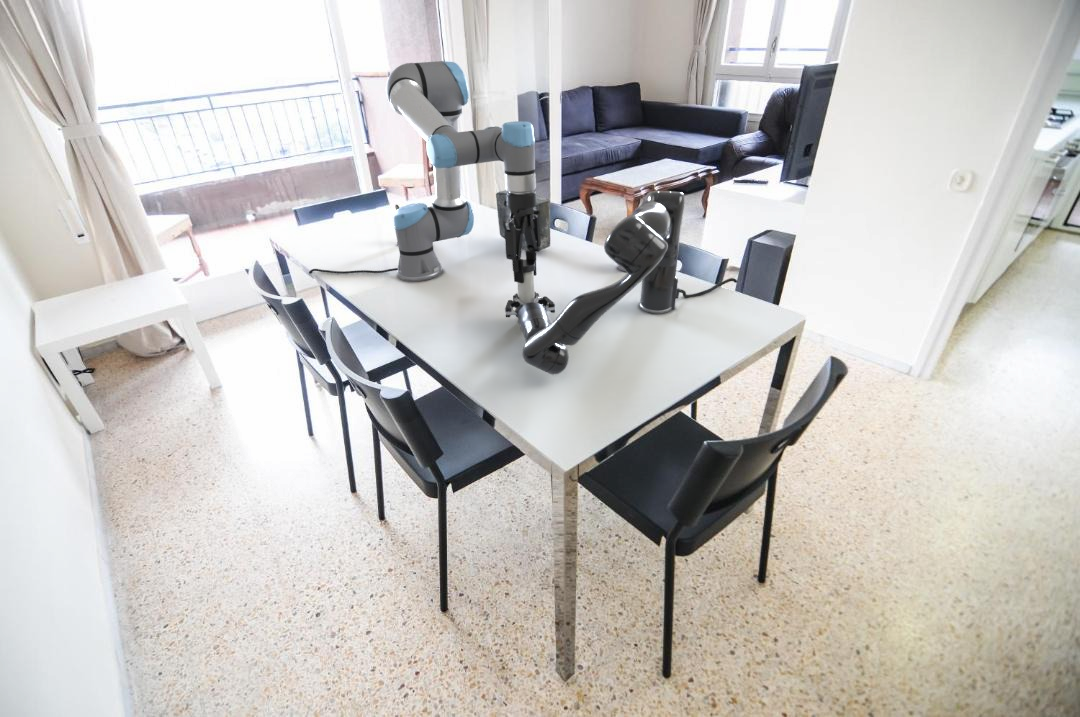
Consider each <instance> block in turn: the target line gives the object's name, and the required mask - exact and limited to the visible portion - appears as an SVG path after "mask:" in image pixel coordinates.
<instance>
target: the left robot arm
mask: <svg viewBox="0 0 1080 717" xmlns="http://www.w3.org/2000/svg"><path fill="white" fill-rule="evenodd" d="M385 94H386V95H385V96H386V99H387V101H388V104H389V105H390V107H391V108H392V109H393V110H394V111H395V112H396V113H397V114H398V115H400V116H403V117H405V119H406V120H407V121H408V123H410V125H411V126H412V127H413V128H414V130H416V132H417V133H418V134H419V136H421V138H422V139H423V140H424V141H425V143H426V144H425V145H426V155H427V158H428V159H429V162H430V164H431V165H432V167H433V177H434V178H433V179H434V187H435V195H434V196H433V197H432V198H431V206H428V205H427V204H425V203H424V202H423V203H422V202H417V203H410V204H406V205H403V206H401V207H399V209H398V210H396V209H395V211H394V213H393V215H392V219H393V228H394V230H395V231H394V232H395V236H396V243H397V242H398V245H397V247H398V251H399V259H398V265H397V267H395V268H387V269H381V270H371V269H370V270H366V269H364V270H363V269H360V270H358V269H357V270H346V271H343V270H341V271H340V270H330V269H320V268H312V269H310V270H309V271H308V274H312V273H313V272H318V273H319V272H320V273H329V274H337V275H339V274H341V275H344V274H345V275H346V274H358V273H359V274H361V273H362V274H363V273H364V274H383V273H384V274H385V273H389V272H394V271H397V276H398V278H399V279H400V280H402V281H406V282H413V283H414V282H425V281H429V280H432V279H435V278H438V277H439V276H440V275H441V274H442V273H443V268H442V264H441V263H440V260H439V259H438V256H437V254H436V252H435V250H434V243H435V242H440V241H441V242H442V241H446V240H450V239H455V238H461V237H463V236H466V235H469V234H470V233H471V232H472V230H473V227H474V221H475V216H474V212H473V207H472V204H471V203H470V202H469V201H468V200H467V197H466V196H464V195H463V192H462V177H461V167H462V166H467V165H468V166H469V165H475V164H476V165H477V164H483V163H490V162H491V163H492V162H502V163H503V168H504V182H505V190H507V191H508V192H507V193H506V201H507V207H508V208H509V209H510V210H511V213H510V219H509V220H508V221H504V222H503V226H504V229H505V238H504V240H505V257H506V260H511V262H512V271H513V281H514V283H517V284H518V283H524V272H523V260H524V259H523V258H522V250H523V248H522V240H523V234H524V235H525V240H526V244H527V248H528V250H526V251H525V259H527V260H533V261H534V262H535V270H534V277H535V276H537V253H539V252H540V251H539V250H540V248H538V247H540V246H541V237H540V210H534V209H533V208H534V207H535V206H536V195H537V192H536V189H537V178H536V176H537V175H536V150H535V149H536V148H535V145H536V144H535V143H536V139H535V136H534V135H535V134H534V133H535V132H534V126H533V124H532V123H531V122H530V121H522V120H519V121H517V120H516V121H507V122H504V123H503V124H502V125H501V127H500V126H497V125H496V126H487V127H485V128H484V129H476V130H465V131H459V122H458V121H459V120H458V119H459V118H460V117H461V115H462V114H463V106H466V105H467V104H468V102H469V99H470V98H469V96H470V95H469V85H468V82H467V78H466V75H465V73H464V71H463V69H462V68H461V66H460V65H459V64H458V63H456V61H455V62H454V61H445V60H439V61H423V62H406V63H403V64H401V65H398V66H397V67H396V68H395V69H394V70H392V71H391V72H390V74H389V76H388V78H387V80H386V84H385ZM534 218H535V219H534ZM517 229H521V230H517ZM536 241H537V242H536Z"/></svg>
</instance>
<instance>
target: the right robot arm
mask: <svg viewBox="0 0 1080 717" xmlns="http://www.w3.org/2000/svg"><path fill="white" fill-rule="evenodd" d="M685 208H686V197H685V195H684V193H683V192H682V191H681V192H680V191H668V190H667V191H664V190H663V191H662V190H661V191H660V190H652V191H649V192H648V193H646V195H645V196H644V198H643V200H642V202H641V203H640V205H639V206H637V208H636V209H634V210H633V211H632V212H631V213H630V214H629V215H628V216H626V217H624V218H623V219H621V220H620V221H619V222H618V223H617V224H616V225H615V226H614V227H613V228H612V229H611V230H610V231H609V233H608V235H607V236H606V238H605V241H604V244H603V250H604V252H605V254H606V255H607V257H608V258H609V259H610V260H612V261H613V262H614V263H615V264H617V265H619V266H620V267H621V268H622V269H624V270H625V271H624V272H626V274H625V275H624V276H622V278H620V279H618V280H617V281H615V282H614V283H612V284H610V285H607V286H605V287H602V288H598V289H595V290H591V291H588V292H585V293H582V294H580V295H578V296H577V297H575V298H573V299H572V300H571V301H570V302H569V303H568V304H567V305H566V306H565V307H564V308H563V310H562V311H561V312H560V313H559V314H558V316H557V317H556V318H555V319H554V320H553V321H552V322H551V321H550V318H549V315H548V313H547V312H550V313H552V314H553V313H555V312H556V303H555V302H554V301H552V299H550V298H549V297H548V296H542V297H541V295H540V293H538V292H536V291H534V293H535V299H534V302H530V303H525V302H524V301H522V300H519V297H518V292H517V293H514V295H512V299H508V300H507V301H506V305H505V308H504V313H505V318H511V316H514V317H516V318H517V320H518V323H519V328H520V331H521V333H522V335H523V336H524V339H525V340H524V341H525V343H524V345H523V348H522V359H523V361H524V362H525V363H526V364H528V365H530V366H532V367H534V368H536V369H539V370H540V371H542V372H545V373H547V374H548V375H559V374H561V373H562V372H564V371H565V370H566V368H567V366H568V364H569V358H570V356H569V351H568V349H567V346H575V345H577V343H579V342H580V341H581V340H582V338H584V336H585V335H586V334H587V333H588V332H589V331H590V329H591V328H592V327H593V326H594V325H595V324H596V322H598V321H599V320H600V319H601V318H602V317H603V316H604V315H605V314H606V313H607V312H608V311H610V309H612V308H613V307H614V306H615V305H617V303H619V301H621V300H622V299H623V298H624V297H626V296H627V295H628V294H629V293H631V291H632V290H633V289H634V288H635V287H636V286H638V285H639V284H640V283H641V290H640V300H639V308H640V309H641V310H643V311H644V312H646V313H650V314H657V315H658V314H666V313H669V312H671V311H673V310H675V308H676V300H677V299H679V298H680V293H681V294H682V297H683V298H687V299H689V298H694V297H699V296H702V295H705V294H708V293H711V292H712V291H714V290H715V289H717V288H718V287H721V286H724V285H725V284H728V283H730V282H734V283H736V284H737V283H738V282H739V281H738V279H736V278H734V277H729V278H726V279H725V280H723V281H721V282H718V283H716V284H715V285H713V286H711V287H710V288H707V289H705V290H702V291H699V292H697V293H692V294H687V291H686V290H684V289H682V288H679V286H678V283H679V279H678V277H676V275H677V266H678V259H679V258H678V257H679V252H680V251H679V249H680V240H681V231H682V224H683V220H684V214H685Z"/></svg>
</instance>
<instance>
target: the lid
mask: <svg viewBox="0 0 1080 717" xmlns="http://www.w3.org/2000/svg"><path fill="white" fill-rule="evenodd" d="M534 270H535V262H534V261H533V260H527V259H526V258H525V259H523V272H524V273H529V272H532V271H534Z"/></svg>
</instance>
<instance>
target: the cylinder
mask: <svg viewBox="0 0 1080 717" xmlns="http://www.w3.org/2000/svg"><path fill="white" fill-rule="evenodd" d="M534 292H535V276H534V271H532V272H529V273H524V283H518V282H517V294H518V297H519V300H522V301H524V302H525V303H530V302H534V299H535V293H534Z"/></svg>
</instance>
